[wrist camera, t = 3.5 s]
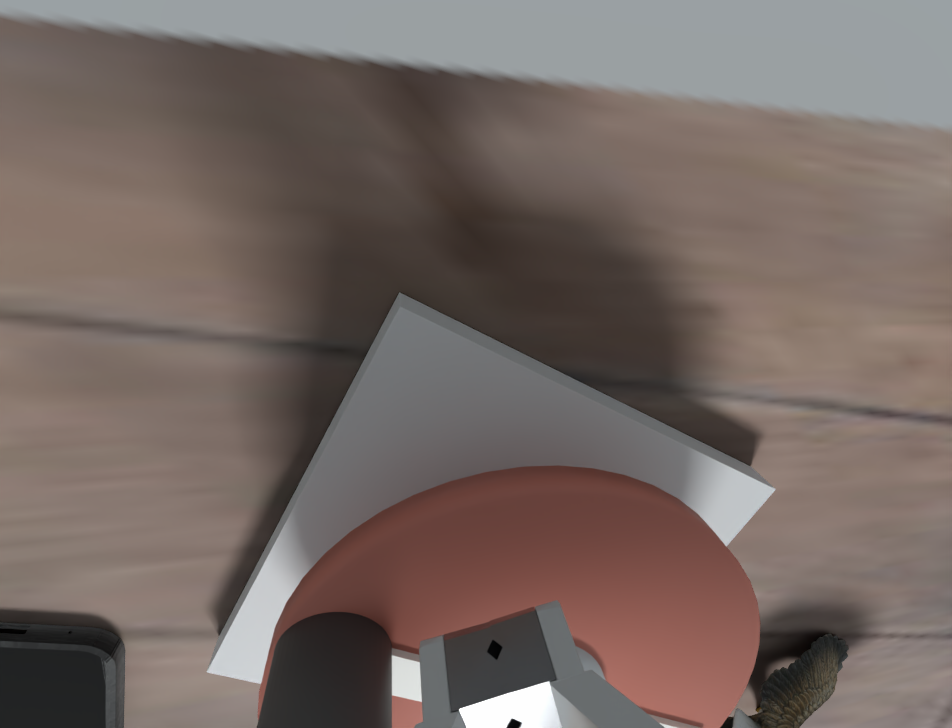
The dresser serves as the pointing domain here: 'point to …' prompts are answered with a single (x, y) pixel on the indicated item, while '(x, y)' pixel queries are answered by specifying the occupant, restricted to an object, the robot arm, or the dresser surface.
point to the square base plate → (461, 454)
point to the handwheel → (518, 598)
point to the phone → (61, 677)
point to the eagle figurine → (796, 688)
